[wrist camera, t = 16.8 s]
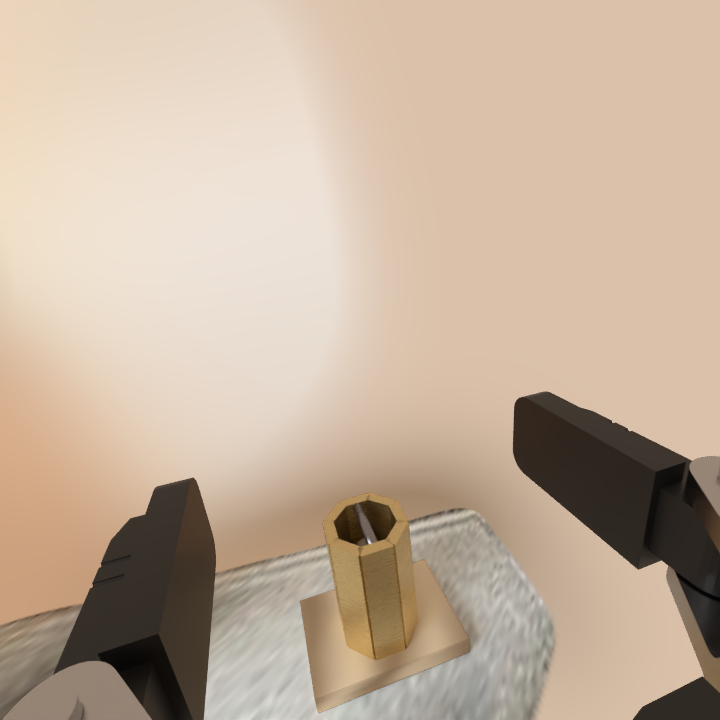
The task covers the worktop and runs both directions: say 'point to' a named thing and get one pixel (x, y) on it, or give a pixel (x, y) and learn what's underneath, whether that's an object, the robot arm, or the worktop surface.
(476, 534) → the worktop surface
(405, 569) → the sleeve
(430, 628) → the shaft base
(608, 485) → the robot arm
